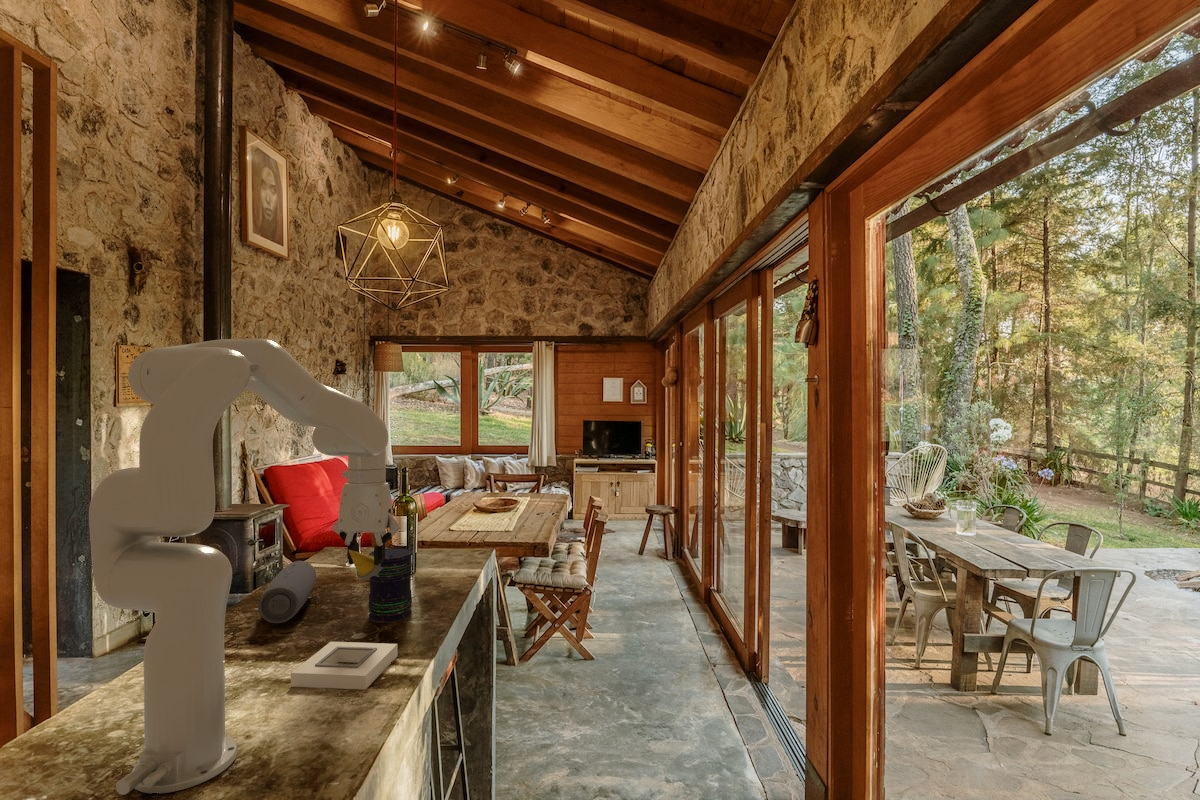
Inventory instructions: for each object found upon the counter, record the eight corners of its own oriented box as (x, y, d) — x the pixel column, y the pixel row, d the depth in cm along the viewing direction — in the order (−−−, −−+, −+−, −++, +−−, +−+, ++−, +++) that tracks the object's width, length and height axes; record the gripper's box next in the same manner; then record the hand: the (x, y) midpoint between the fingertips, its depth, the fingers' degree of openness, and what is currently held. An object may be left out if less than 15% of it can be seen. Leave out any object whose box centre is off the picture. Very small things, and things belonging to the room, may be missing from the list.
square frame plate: (365, 689, 111) (365, 674, 110) (290, 686, 112) (290, 671, 112) (397, 656, 124) (397, 642, 124) (330, 653, 126) (330, 640, 126)
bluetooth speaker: (279, 598, 160) (279, 559, 159) (318, 595, 162) (318, 557, 162) (255, 631, 138) (254, 586, 138) (300, 627, 140) (300, 583, 140)
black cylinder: (368, 610, 150) (368, 549, 150) (410, 605, 154) (410, 546, 153) (368, 625, 141) (368, 560, 141) (413, 619, 144) (413, 556, 144)
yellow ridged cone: (386, 581, 131) (356, 555, 125) (365, 590, 132) (334, 564, 126) (390, 561, 135) (362, 535, 129) (370, 569, 136) (340, 544, 130)
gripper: (318, 478, 128) (318, 566, 127) (398, 479, 126) (398, 569, 126) (337, 474, 135) (336, 557, 135) (412, 475, 134) (412, 559, 134)
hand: (366, 562), depth 130 cm, fingers closed on yellow ridged cone, 4 cm apart
